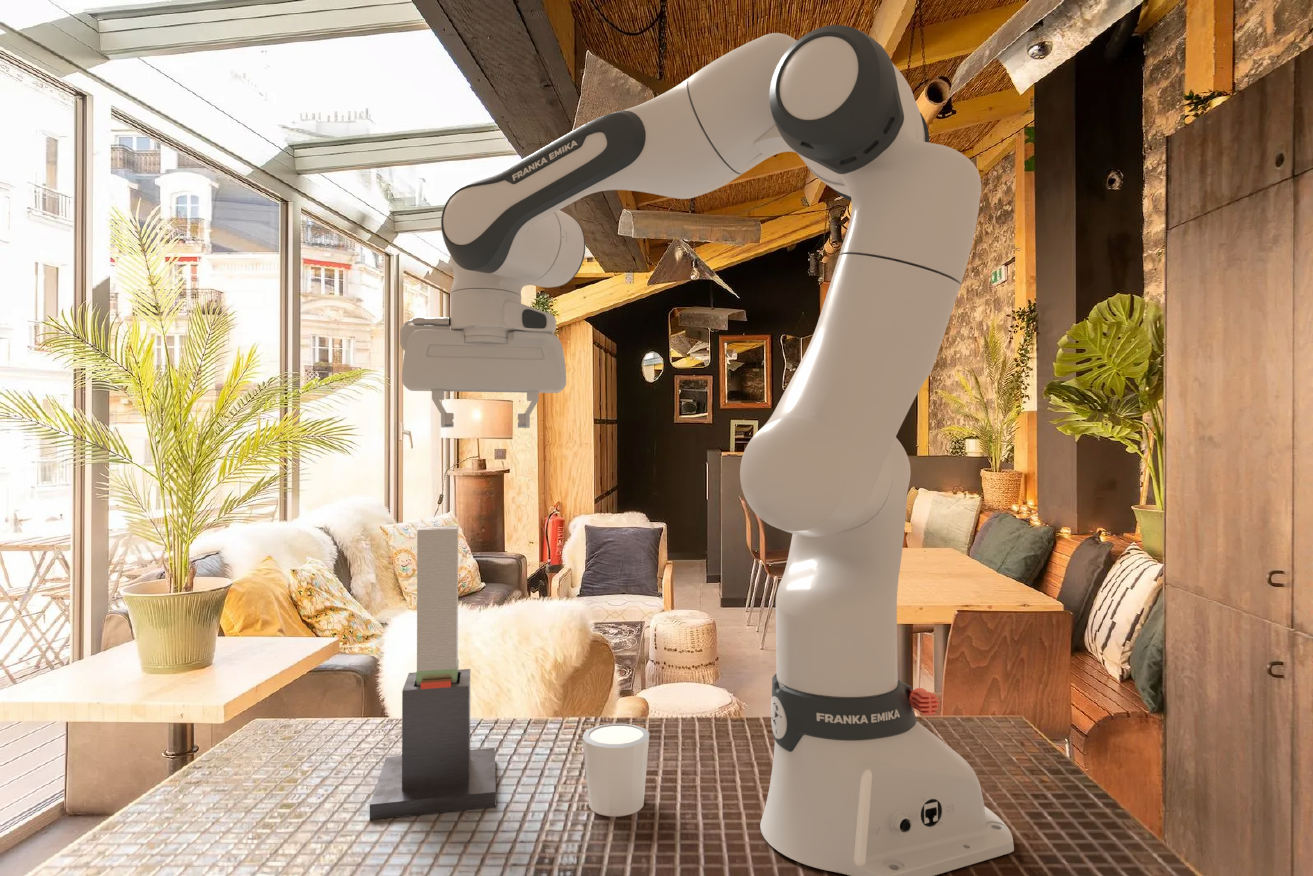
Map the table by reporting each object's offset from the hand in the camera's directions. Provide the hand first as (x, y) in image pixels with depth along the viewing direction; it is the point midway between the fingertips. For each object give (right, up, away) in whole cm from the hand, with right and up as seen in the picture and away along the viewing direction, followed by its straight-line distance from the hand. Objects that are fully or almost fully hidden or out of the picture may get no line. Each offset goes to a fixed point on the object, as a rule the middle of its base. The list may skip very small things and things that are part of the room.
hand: (485, 427), depth 95 cm
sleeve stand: (-2, -39, -15) cm, 41 cm away
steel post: (-2, -29, -15) cm, 33 cm away
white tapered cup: (+18, -39, -19) cm, 46 cm away
